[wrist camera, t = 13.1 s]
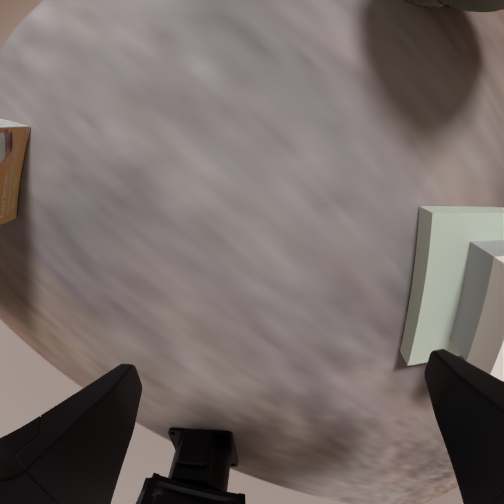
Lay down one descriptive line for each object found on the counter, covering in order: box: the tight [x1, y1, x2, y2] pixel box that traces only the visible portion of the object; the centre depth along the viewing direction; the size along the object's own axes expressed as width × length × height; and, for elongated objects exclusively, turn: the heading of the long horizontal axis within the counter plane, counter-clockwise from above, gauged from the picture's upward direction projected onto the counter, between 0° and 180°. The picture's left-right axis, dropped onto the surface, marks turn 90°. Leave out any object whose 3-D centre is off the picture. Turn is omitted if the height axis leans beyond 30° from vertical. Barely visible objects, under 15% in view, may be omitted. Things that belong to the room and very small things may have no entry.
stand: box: [400, 206, 504, 366], centre depth 20 cm, size 12×12×2 cm
